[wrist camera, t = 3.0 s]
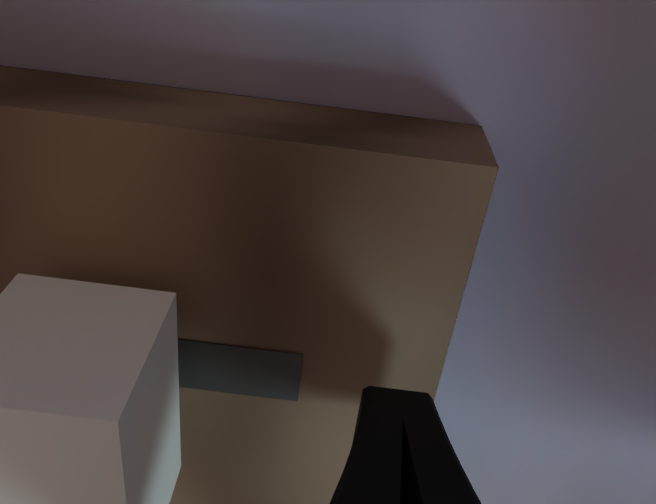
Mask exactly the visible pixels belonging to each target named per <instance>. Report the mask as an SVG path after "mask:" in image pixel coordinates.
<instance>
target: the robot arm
mask: <svg viewBox="0 0 656 504" xmlns="http://www.w3.org/2000/svg"><path fill="white" fill-rule="evenodd" d="M329 504H481V502H480V500H479V498H478V497H477V495H476V493H475V491H474V489H473V487H472V485H471V483H470V481H469V479H468V478H467V476H466V474H465V472H464V470H463V468H462V466H461V464H460V462H459V460H458V458H457V456H456V454H455V451H454V449H453V447H452V445H451V443H450V440H449V438H448V436H447V434H446V431H445V429H444V427H443V424H442V422H441V420H440V417H439V415H438V412H437V409H436V407H435V404H434V401H433V399H432V397H431V396H430V395H429V393H425V392H417V391H409V390H400V389H392V388H384V387H376V386H367V387H366V388H364V389H363V390H362V395H361V400H360V406H359V411H358V416H357V421H356V427H355V432H354V437H353V442H352V447H351V450H350V453H349V456H348V459H347V462H346V465H345V468H344V470H343V473H342V475H341V478H340V480H339V482H338V485H337V487H336V489H335V492H334V494H333V496H332V499H331V501H330V503H329Z"/></svg>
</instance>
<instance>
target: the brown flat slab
mask: <svg viewBox="0 0 656 504" xmlns="http://www.w3.org/2000/svg"><path fill="white" fill-rule="evenodd" d="M497 171H498V165H497V163H496V160H495V158H494V156H493V153H492V151H491V148H490V146H489V143H488V141H487V138H486V136H485V134H484V131H483V129H482V126H477V125H469V124H461V123H453V122H445V121H437V120H429V119H421V118H413V117H405V116H397V115H389V114H381V113H373V112H365V111H357V110H349V109H341V108H333V107H326V106H318V105H310V104H302V103H294V102H286V101H278V100H270V99H262V98H254V97H246V96H238V95H230V94H222V93H214V92H206V91H198V90H190V89H182V88H174V87H166V86H158V85H150V84H142V83H134V82H127V81H119V80H111V79H103V78H95V77H87V76H79V75H71V74H63V73H55V72H47V71H39V70H31V69H23V68H15V67H7V66H0V294H1V293H2V291H3V290H4V289H5V288H6V287H7V286H8V284H9V283H10V282H11V281H12V280H13V279H14V277H15V276H16V275H17V274H18V273H20V274H28V275H36V276H45V277H53V278H61V279H69V280H77V281H85V282H93V283H101V284H109V285H117V286H126V287H134V288H142V289H150V290H158V291H166V292H174V293H176V300H177V336H178V372H179V407H180V443H181V468H180V471H179V474H178V478H177V481H176V484H175V487H174V490H173V494H172V497H171V500H170V503H169V504H329V503H330V501H331V499H332V496H333V494H334V492H335V489H336V487H337V485H338V482H339V480H340V478H341V475H342V473H343V470H344V468H345V465H346V462H347V459H348V456H349V453H350V450H351V447H352V442H353V437H354V432H355V427H356V421H357V416H358V411H359V406H360V400H361V395H362V390H363V389H364V388H366V387H367V386H376V387H384V388H392V389H400V390H409V391H417V392H425V393H429V395H430V396H431V397H432V399H433V401H434V397H435V393H436V390H437V386H438V383H439V379H440V375H441V372H442V368H443V365H444V361H445V358H446V354H447V350H448V347H449V343H450V340H451V336H452V332H453V329H454V325H455V322H456V318H457V314H458V311H459V307H460V304H461V300H462V297H463V293H464V289H465V286H466V282H467V279H468V275H469V271H470V268H471V264H472V261H473V257H474V253H475V250H476V246H477V243H478V239H479V236H480V232H481V228H482V225H483V221H484V218H485V214H486V210H487V207H488V203H489V200H490V196H491V193H492V189H493V185H494V182H495V178H496V175H497Z"/></svg>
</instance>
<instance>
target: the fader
mask: <svg viewBox="0 0 656 504" xmlns="http://www.w3.org/2000/svg"><path fill="white" fill-rule="evenodd" d="M180 468H181V443H180V407H179V372H178V336H177V300H176V293H174V292H166V291H158V290H150V289H142V288H134V287H126V286H117V285H109V284H101V283H93V282H85V281H77V280H69V279H61V278H53V277H45V276H36V275H28V274H20V273H18V274H17V275H16V276H15V277H14V279H13V280H12V281H11V282H10V283H9V284H8V286H7V287H6V288H5V289H4V290H3V291H2V293H1V294H0V504H169V503H170V500H171V497H172V494H173V490H174V487H175V484H176V481H177V478H178V474H179V471H180Z"/></svg>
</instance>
